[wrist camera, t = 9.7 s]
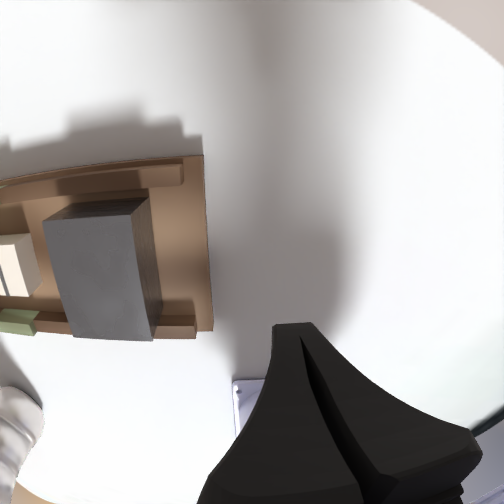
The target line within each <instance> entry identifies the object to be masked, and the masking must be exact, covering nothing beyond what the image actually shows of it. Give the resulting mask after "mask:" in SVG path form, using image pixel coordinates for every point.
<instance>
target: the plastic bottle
mask: <svg viewBox="0 0 504 504" xmlns="http://www.w3.org/2000/svg"><path fill="white" fill-rule="evenodd" d="M44 424H45V421H44V416H43V412H42V410H41V408H40V407H39V406H38V404H37V403H36V402H35V401H34V400H33V399H32V398H31V397H29V396H28V395H27V394H26V393H24V392H23V391H21V390H19V389H17V388H15V387H11V386H7V387H3V388H0V503H3V504H10V503H11V497H12V492H13V489H14V486H15V483H16V478H17V477H18V474H19V471H20V468H21V467H22V465H23V463H24V461H25V459H26V457H27V456H28V454H29V452H30V450H31V448H33V447H34V445H35V444H36V443H37V441H38V440H39V438H40V437H41V435H42V433H43V428H44Z"/></svg>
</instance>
